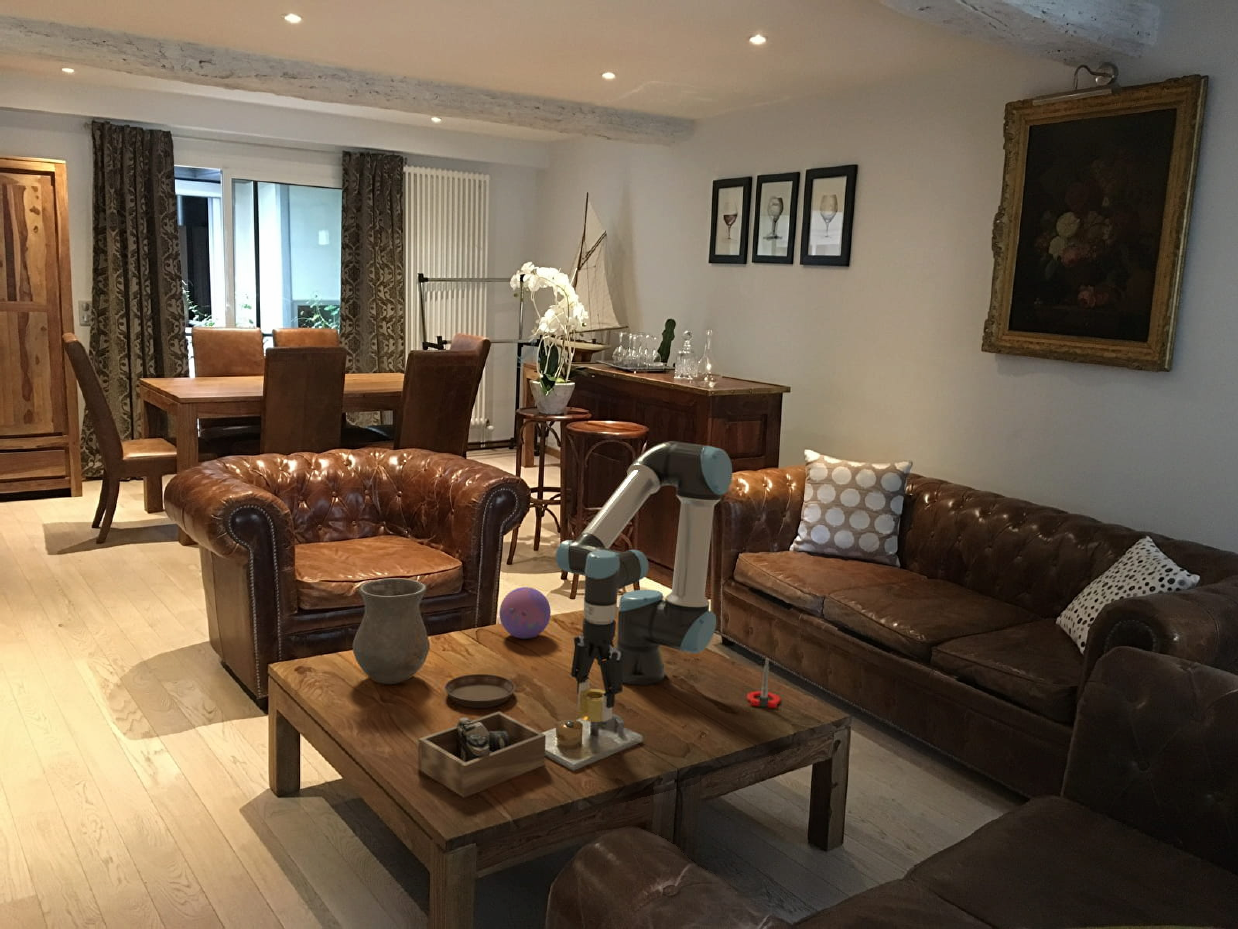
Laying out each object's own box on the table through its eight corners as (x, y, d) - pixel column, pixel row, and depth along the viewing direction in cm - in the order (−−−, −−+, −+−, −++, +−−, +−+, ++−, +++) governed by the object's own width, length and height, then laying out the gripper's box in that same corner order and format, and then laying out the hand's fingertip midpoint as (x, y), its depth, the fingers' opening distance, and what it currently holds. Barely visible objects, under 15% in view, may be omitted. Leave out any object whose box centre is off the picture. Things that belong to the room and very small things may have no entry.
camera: (519, 777, 215) (520, 732, 214) (472, 786, 211) (472, 740, 210) (496, 748, 230) (496, 706, 228) (451, 755, 225) (451, 712, 224)
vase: (337, 684, 261) (337, 590, 256) (381, 660, 278) (382, 572, 274) (402, 700, 253) (403, 603, 249) (443, 674, 271) (445, 583, 266)
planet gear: (572, 714, 236) (573, 693, 235) (594, 706, 241) (595, 686, 240) (593, 724, 231) (594, 703, 230) (615, 716, 236) (616, 696, 235)
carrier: (525, 745, 232) (526, 710, 231) (594, 719, 248) (595, 686, 247) (573, 770, 222) (574, 734, 220) (642, 741, 237) (644, 707, 236)
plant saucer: (458, 680, 268) (458, 669, 268) (523, 688, 265) (523, 677, 264) (434, 707, 251) (434, 695, 250) (503, 716, 248) (503, 704, 247)
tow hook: (747, 694, 270) (746, 706, 261) (751, 646, 268) (750, 657, 259) (779, 697, 268) (779, 710, 259) (783, 650, 267) (784, 661, 258)
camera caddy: (418, 769, 219) (418, 738, 217) (498, 740, 234) (499, 711, 233) (463, 797, 208) (464, 765, 207) (544, 765, 224) (545, 735, 222)
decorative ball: (492, 643, 296) (493, 593, 293) (506, 626, 310) (508, 578, 308) (542, 648, 293) (544, 598, 291) (554, 631, 308) (556, 583, 305)
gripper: (557, 611, 236) (553, 704, 240) (619, 634, 222) (614, 733, 226) (581, 605, 241) (576, 696, 245) (642, 627, 228) (637, 724, 232)
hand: (594, 714), depth 236 cm, fingers closed on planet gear, 7 cm apart
